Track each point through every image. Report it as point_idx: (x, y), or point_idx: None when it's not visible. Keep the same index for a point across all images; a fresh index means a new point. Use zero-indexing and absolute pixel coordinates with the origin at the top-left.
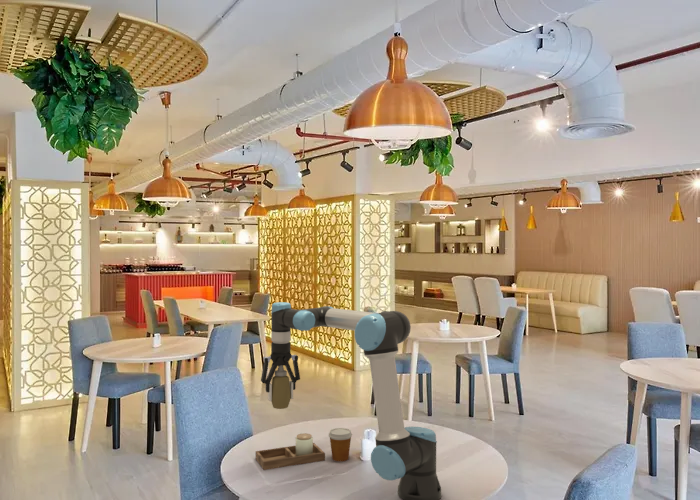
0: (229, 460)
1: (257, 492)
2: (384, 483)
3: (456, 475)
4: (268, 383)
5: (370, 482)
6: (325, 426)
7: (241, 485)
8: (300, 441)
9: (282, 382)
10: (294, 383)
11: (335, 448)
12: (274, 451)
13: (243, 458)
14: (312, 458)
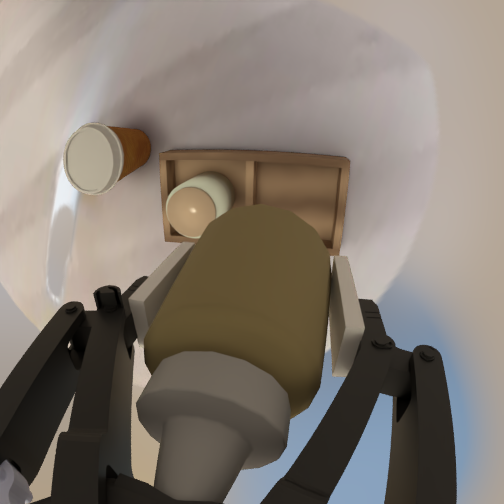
0: (388, 279)
1: (397, 50)
2: (107, 3)
3: (13, 32)
4: (380, 337)
5: (127, 10)
6: None
7: (421, 109)
8: (212, 190)
9: (240, 284)
10: (123, 302)
11: (129, 136)
12: None
13: (355, 276)
14: (198, 151)
